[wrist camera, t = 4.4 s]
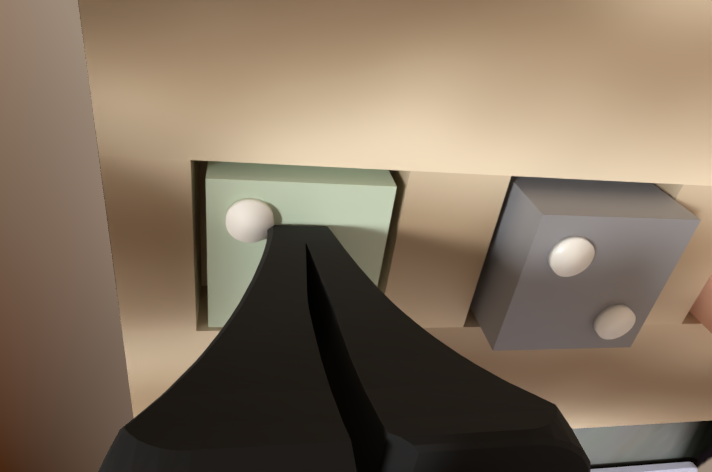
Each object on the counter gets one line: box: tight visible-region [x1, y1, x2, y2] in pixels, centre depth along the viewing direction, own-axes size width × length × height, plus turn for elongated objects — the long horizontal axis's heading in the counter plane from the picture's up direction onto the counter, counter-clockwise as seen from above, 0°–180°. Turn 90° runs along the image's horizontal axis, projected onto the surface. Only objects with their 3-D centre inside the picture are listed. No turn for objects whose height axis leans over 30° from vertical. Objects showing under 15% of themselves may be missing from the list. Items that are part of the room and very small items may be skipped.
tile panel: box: [78, 0, 712, 429], centre depth 15 cm, size 14×22×2 cm, turn 82°
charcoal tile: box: [470, 176, 701, 351], centre depth 14 cm, size 4×4×2 cm
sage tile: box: [206, 161, 397, 327], centre depth 13 cm, size 4×4×2 cm
